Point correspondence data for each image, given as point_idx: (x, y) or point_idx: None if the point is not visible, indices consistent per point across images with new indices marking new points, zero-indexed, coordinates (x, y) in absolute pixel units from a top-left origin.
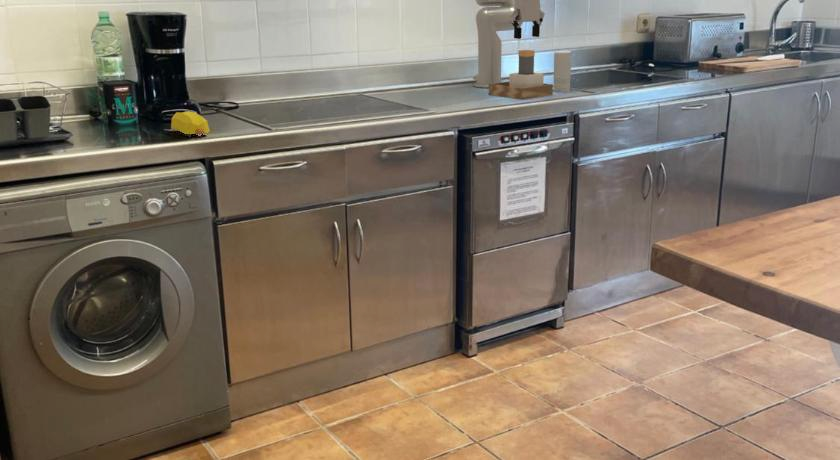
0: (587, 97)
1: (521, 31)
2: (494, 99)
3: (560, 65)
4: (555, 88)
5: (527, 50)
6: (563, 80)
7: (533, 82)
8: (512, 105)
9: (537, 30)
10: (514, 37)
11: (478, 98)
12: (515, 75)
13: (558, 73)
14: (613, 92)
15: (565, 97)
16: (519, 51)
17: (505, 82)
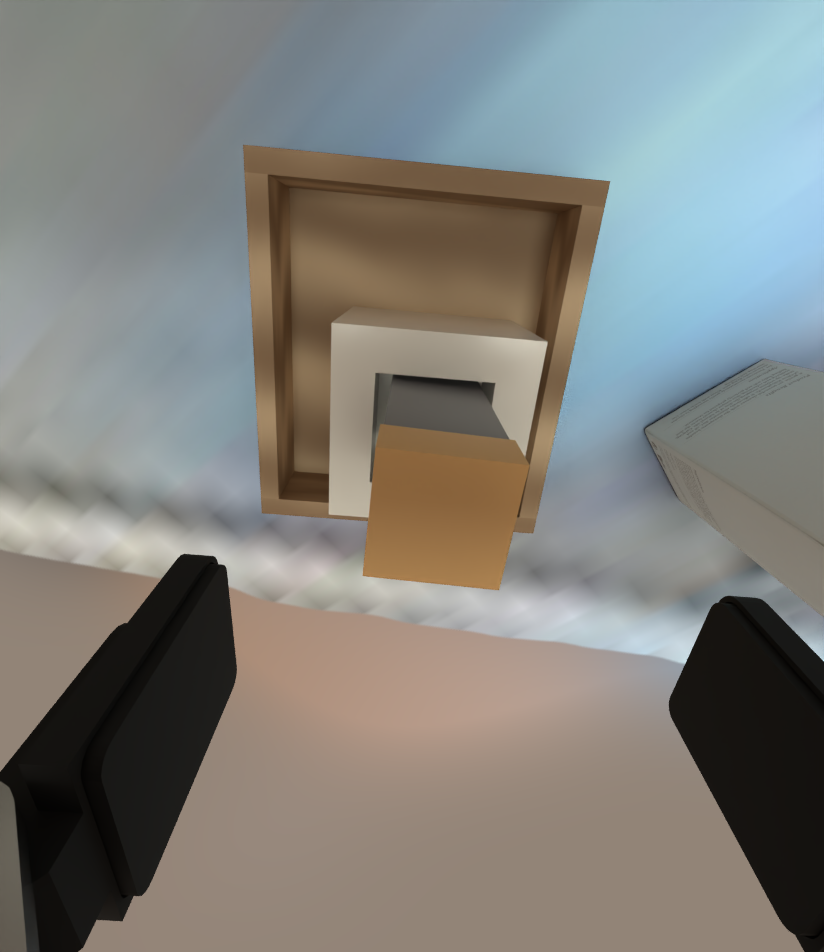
0: (591, 625)
1: (181, 806)
2: (207, 305)
3: (768, 540)
4: (659, 446)
5: (458, 524)
6: (704, 505)
7: None
8: (147, 519)
9: (736, 814)
10: (182, 569)
11: (150, 178)
12: (331, 395)
13: (720, 500)
14: (811, 627)
15: (534, 557)
16: (374, 459)
17: (426, 190)
